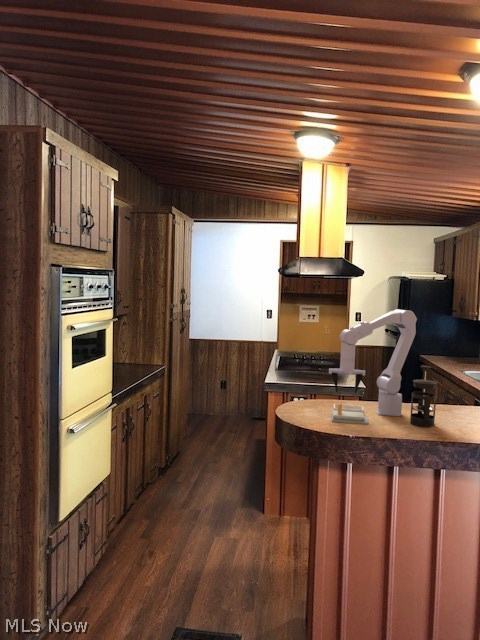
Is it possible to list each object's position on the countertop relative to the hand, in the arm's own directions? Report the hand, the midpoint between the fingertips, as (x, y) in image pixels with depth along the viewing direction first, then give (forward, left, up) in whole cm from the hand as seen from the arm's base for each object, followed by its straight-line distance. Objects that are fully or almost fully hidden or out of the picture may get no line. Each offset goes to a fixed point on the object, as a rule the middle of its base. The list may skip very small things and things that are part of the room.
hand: (345, 391), depth 220 cm
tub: (-1, -3, -9) cm, 10 cm away
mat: (-1, +8, -9) cm, 13 cm away
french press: (-29, +7, -10) cm, 32 cm away
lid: (-1, +8, -9) cm, 12 cm away
